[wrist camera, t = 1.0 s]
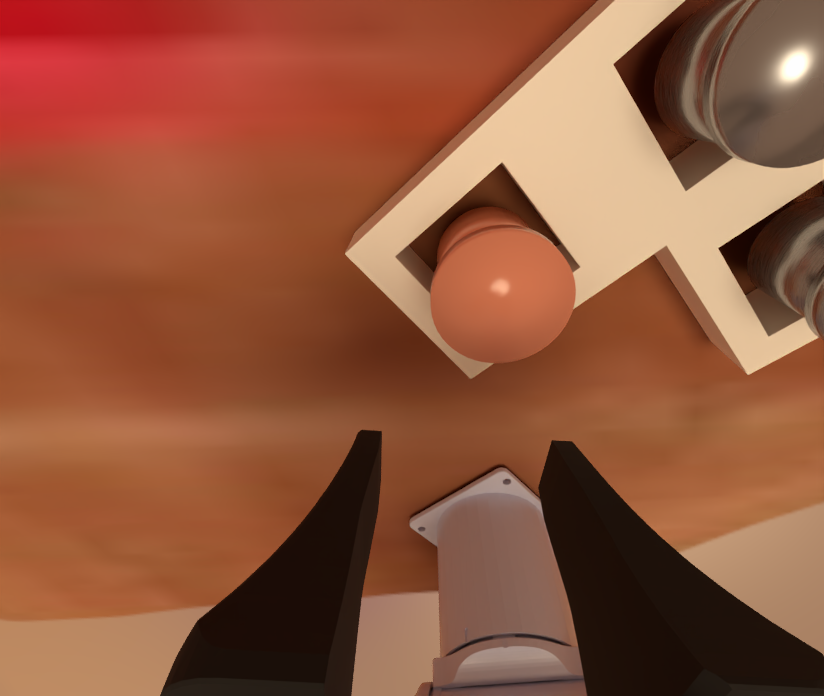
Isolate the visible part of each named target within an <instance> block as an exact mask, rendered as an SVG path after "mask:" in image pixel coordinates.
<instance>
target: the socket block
mask: <svg viewBox="0 0 824 696" xmlns="http://www.w3.org/2000/svg"><path fill="white" fill-rule="evenodd" d="M684 1H685V0H598V1H597V2H596V3H595V4H594V5H593V6H592V7H591V8H590V9H588V10H587V11H586V12H585V13H584V14H583V15H582V16H581V17H580V18H579V19H578V20H577V21H576V22H575V23H574V24H573V25H572V26H571V27H570V28H569V29H568V30H566V31H565V32H564V33H563V34H562V35H561V36H560V37H559V38H558V39H557V40H556V41H555V42H554V43H553V44H552V45H551V46H550V47H549V48H548V49H547V50H545V51H544V52H543V53H542V54H541V55H540V56H539V57H538V58H537V59H536V60H535V61H534V62H533V63H532V64H531V65H530V66H529V67H528V68H527V69H526V70H524V71H523V72H522V73H521V74H520V75H519V76H518V77H517V78H516V79H515V80H514V81H513V82H512V83H511V84H510V85H509V86H508V87H507V88H506V89H505V90H504V91H502V92H501V93H500V94H499V95H498V96H497V97H496V98H495V99H494V100H493V101H492V102H491V103H490V104H489V105H488V106H487V107H486V108H485V109H484V110H483V111H481V112H480V113H479V114H478V115H477V116H476V117H475V118H474V119H473V120H472V121H471V122H470V123H469V124H468V125H467V126H466V127H465V128H464V129H463V130H462V131H460V132H459V133H458V134H457V135H456V136H455V137H454V138H453V139H452V140H451V141H450V142H449V143H448V144H447V145H446V146H445V147H444V148H443V149H442V150H441V151H439V152H438V153H437V154H436V155H435V156H434V157H433V158H432V159H431V160H430V161H429V162H428V163H427V164H426V165H425V166H424V167H423V168H422V169H421V170H420V171H419V172H417V173H416V174H415V175H414V176H413V177H412V178H411V179H410V180H409V181H408V182H407V183H406V184H405V185H404V186H403V187H402V188H401V189H400V190H399V191H398V192H396V193H395V194H394V195H393V196H392V197H391V198H390V199H389V200H388V201H387V202H386V203H385V204H384V205H383V206H382V207H381V208H380V209H379V210H378V211H377V212H375V213H374V214H373V215H372V216H371V217H370V218H369V219H368V220H367V221H366V222H365V223H364V224H363V225H362V226H361V227H360V228H359V229H358V230H357V231H356V232H355V233H354V235H353V237H352V240H351V242H350V244H349V246H348V248H347V250H346V252H345V255H346V256H347V257H348V258H349V259H350V260H351V261H352V262H353V263H354V264H355V265H356V266H357V267H358V268H359V269H360V270H361V271H362V272H363V273H364V274H365V275H366V276H367V277H368V278H369V279H370V280H371V281H372V282H373V283H374V284H375V285H376V286H377V287H378V288H379V289H381V290H382V291H383V292H384V293H385V294H386V295H387V296H388V297H389V298H390V299H391V300H392V301H393V302H394V303H395V304H396V305H397V306H398V307H399V308H400V309H401V310H402V311H403V312H404V313H405V314H406V315H407V316H408V317H409V318H410V319H411V320H412V321H413V322H414V323H415V324H416V325H417V326H418V327H419V328H420V329H421V330H422V331H423V332H424V333H425V334H426V335H427V336H428V337H429V338H430V339H431V340H432V341H433V342H434V343H435V344H436V345H437V346H438V347H439V348H440V349H441V350H442V351H443V352H444V353H445V354H446V355H447V356H448V357H449V358H450V359H451V360H452V361H453V362H454V363H455V364H456V365H457V366H458V367H459V368H460V369H461V370H462V371H463V372H464V373H465V374H466V375H467V376H468V377H469V378H470V379H472V378H473V377H475V376H476V375H478V374H479V373H481V372H482V371H484V370H485V369H486V368H488V367H489V366H491V365H492V364H494V363H486V362H480V361H476V360H473V359H470V358H467V357H465V356H463V355H461V354H459V353H458V352H457V351H455V350H454V349H452V348H451V347H450V346H449V345H448V344H447V343H446V342H445V341H444V340H443V339H442V337H441V336H440V334H439V333H438V331H437V329H436V327H435V325H434V322H433V318H432V314H431V301H430V289H431V282H432V278H433V275H434V272H433V271H432V270H431V269H430V268H429V267H428V266H427V265H426V263H425V262H424V261H423V260H422V259H421V258H420V257H419V256H418V255H417V254H416V253H415V252H414V250H413V249H412V248H411V247H410V246H409V244H410V243H411V242H412V241H413V240H414V239H415V238H417V237H418V236H419V235H420V234H421V233H422V232H423V231H425V230H426V229H427V228H428V227H429V226H430V225H431V224H433V223H434V222H435V221H436V220H437V219H438V218H439V217H440V216H442V215H443V214H444V213H445V212H446V211H447V210H448V209H450V208H451V207H452V206H453V205H454V204H455V203H456V202H457V201H459V200H460V199H461V198H462V197H463V196H464V195H465V194H467V193H468V192H469V191H470V190H471V189H472V188H473V187H474V186H476V185H477V184H478V183H479V182H480V181H481V180H482V179H484V178H485V177H486V176H487V175H488V174H489V173H490V172H491V171H493V170H494V169H495V168H496V167H497V166H498V165H499V164H501V165H502V166H503V167H504V169H505V170H506V171H507V173H508V174H509V175H510V177H511V178H512V179H513V181H514V182H515V183H516V185H517V186H518V187H519V189H520V190H521V191H522V193H523V194H524V195H525V197H526V198H527V199H528V201H529V202H530V203H531V205H532V206H533V207H534V209H535V210H536V211H537V213H538V214H539V215H540V217H541V218H542V219H543V221H544V222H545V223H546V225H547V226H548V227H549V229H550V230H551V231H552V233H553V234H554V235H555V237H556V238H557V240H558V241H559V242H560V244H559V245H558V246H557V249H558V250H559V251H560V252H561V254H562V255H563V256H564V257H565V259H566V260H567V262H568V264H569V265H570V268H571V270H572V272H573V276H574V280H575V287H576V297H575V303H574V308H576V307H577V306H579V305H580V304H581V303H583V302H584V301H586V300H587V299H589V298H590V297H592V296H593V295H595V294H596V293H598V292H599V291H601V290H602V289H603V288H605V287H606V286H608V285H609V284H611V283H612V282H614V281H615V280H617V279H618V278H620V277H621V276H622V275H624V274H625V273H627V272H628V271H630V270H631V269H633V268H634V267H636V266H637V265H639V264H640V263H641V262H643V261H644V260H646V259H647V258H649V257H650V256H652V255H653V254H654V255H655V256H656V258H657V259H658V261H659V262H660V264H661V265H662V267H663V269H664V270H665V272H666V273H667V275H668V276H669V278H670V279H671V281H672V282H673V284H674V286H675V287H676V289H677V290H678V292H679V293H680V295H681V296H682V298H683V299H684V301H685V302H686V304H687V306H688V307H689V309H690V310H691V312H692V313H693V315H694V316H695V318H696V319H697V321H698V323H699V324H700V326H701V327H702V329H703V330H704V332H705V333H706V335H707V336H708V338H709V340H710V341H711V342H712V343H713V344H714V345H715V346H716V347H717V348H719V349H720V350H721V351H722V352H723V353H724V354H725V355H726V356H727V357H729V358H730V359H731V360H732V361H733V362H734V363H735V364H736V365H737V366H739V367H740V368H741V369H742V370H743V371H744V372H745V373H746V374H747V375H749V374H751V373H753V372H755V371H757V370H758V369H760V368H762V367H764V366H766V365H768V364H770V363H772V362H773V361H775V360H777V359H779V358H781V357H783V356H785V355H787V354H788V353H790V352H792V351H794V350H796V349H798V348H800V347H801V346H803V345H805V344H807V343H809V342H811V341H813V340H815V339H816V338H818V336H816V335H815V334H814V333H813V332H812V331H811V329H810V328H809V326H808V324H807V322H806V319H805V317H803V316H802V315H800V314H798V313H797V312H795V311H794V310H792V309H790V308H789V307H787V306H785V305H784V304H782V303H781V302H779V301H777V300H776V299H774V298H772V297H771V296H769V295H768V294H766V293H764V292H763V291H761V290H760V289H758V288H757V289H755V290H754V291H752V292H750V293H749V294H747V295H744V293H743V291H742V289H741V288H740V286H739V284H738V282H737V281H736V279H735V277H734V275H733V274H732V272H731V270H730V268H729V267H728V265H727V263H726V261H725V260H724V258H723V256H722V254H721V253H720V251H719V249H718V248H719V247H721V246H722V245H724V244H725V243H727V242H728V241H730V240H731V239H733V238H734V237H736V236H738V235H739V234H741V233H742V232H744V231H745V230H747V229H748V228H750V227H751V226H753V225H754V224H756V223H757V222H759V221H761V220H762V219H764V218H765V217H767V216H768V215H770V214H771V213H773V212H774V211H776V210H777V209H779V208H780V207H782V206H784V205H785V204H787V203H788V202H790V201H791V200H793V199H794V198H796V197H797V196H799V195H800V194H802V193H803V192H805V191H807V190H808V189H810V188H811V187H813V186H814V185H816V184H817V183H819V182H820V181H822V183H823V185H824V159H822V160H819V161H816V162H814V163H811V164H807V165H803V166H799V167H791V168H771V167H765V166H761V165H756V164H752V163H748V162H745V161H741V160H738V159H736V158H734V157H732V156H730V155H728V154H727V153H726V152H724V151H723V150H722V149H721V148H720V147H719V146H718V145H717V144H716V143H712V142H707V141H702V140H697V141H696V142H694V143H693V144H692V145H690V146H689V147H688V148H686V149H685V150H684V151H682V152H681V153H680V154H678V155H677V156H676V157H674V158H673V159H672V160H671V161H668V160H667V158H666V156H665V154H664V153H663V151H662V149H661V147H660V146H659V144H658V142H657V140H656V139H655V137H654V135H653V133H652V132H651V130H650V128H649V126H648V125H647V123H646V121H645V119H644V118H643V116H642V114H641V112H640V111H639V109H638V107H637V105H636V104H635V102H634V100H633V98H632V97H631V95H630V93H629V91H628V90H627V88H626V86H625V84H624V83H623V81H622V79H621V77H620V75H619V74H618V72H617V70H616V68H615V67H614V65H613V64H614V63H615V62H616V61H617V60H618V59H620V58H621V57H622V56H623V55H624V54H625V53H626V52H628V51H629V50H630V49H631V48H632V47H633V46H634V45H635V44H637V43H638V42H639V41H640V40H641V39H642V38H643V37H645V36H646V35H647V34H648V33H649V32H650V31H651V30H652V29H654V28H655V27H656V26H657V25H658V24H659V23H660V22H662V21H663V20H664V19H665V18H666V17H667V16H668V15H669V14H671V13H672V12H673V11H674V10H675V9H676V8H677V7H679V6H680V5H681V4H682V3H683V2H684ZM574 308H573V309H574Z"/></svg>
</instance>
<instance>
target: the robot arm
mask: <svg viewBox="0 0 824 696" xmlns="http://www.w3.org/2000/svg"><path fill="white" fill-rule="evenodd" d="M381 445H382V431H370V430H361V431H360V432H358V434H357V437H356V439H355V441H354V443H353V446H352V448H351V450H350V451H349V453H348V455H347V457H346V459H345V461H344V462H343V464H342V466H341V467H340V469H339V471H338V472H337V474H336V475H335V477H334V479H333V480H332V482H331V483H330V485H329V486H328V488H327V489H326V491H325V492H324V493H323V495H322V496H321V498H320V499H319V500H318V502H317V503H316V505H315V506H314V507H313V509H312V510H311V511H310V512H309V514H308V515H307V516H306V517H305V519H304V520H303V521H302V522H301V524H300V525H299V526H298V527H297V528H296V530H295V531H294V532H293V533H292V534H291V535H290V536H289V537H288V538H287V540H286V541H285V542H284V543H283V544H282V545H281V546H280V547H279V548H278V549H277V550H276V551H275V552H274V554H273V555H272V556H271V557H270V558H269V559H268V560H267V561H266V562H265V563H263V564H262V565H261V566H260V567H259V568H258V569H257V570H256V571H255V572H254V573H253V574H252V575H251V576H250V577H249V578H247V579H246V580H245V581H244V582H243V583H242V584H241V585H240V586H239V587H238V588H237V589H235V590H234V591H233V592H232V593H231V594H229V595H228V596H227V597H226V598H225V599H223V600H222V601H221V602H220V603H218V604H217V605H216V606H215V607H214V608H212V609H211V610H210V611H209V612H208V613H206V614H205V615H204V616H203V617H201V618H200V619H199V620H198V621H197V622H196V624H195V625H194V627H193V629H192V630H191V632H190V634H189V636H188V637H187V639H186V640H185V643H184V644H183V646H182V648H181V649H180V651H179V653H178V655H177V657H176V659H175V661H174V663H173V666H172V668H171V671H170V673H169V675H168V678H167V680H166V682H165V685H164V687H163V690H162V692H161V695H160V696H351V692H352V682H353V672H354V662H355V653H356V644H357V633H358V625H359V615H360V606H361V598H362V591H363V585H364V579H365V574H366V569H367V564H368V559H369V554H370V549H371V544H372V539H373V534H374V529H375V523H376V518H377V513H378V505H379V494H380V483H381ZM505 479H508V480H505ZM538 488H539V494H540V499H539V498H538V497H537V496H536V495H535V494H534V493H533V492H532V491H531V490H530V489H529V488H527V487H526V486H525V485H524V484H523V483H522V482H521V481H520V480H519V479H518V478H517V477H515V476H514V475H513V474H512V473H511V472H510V471H509V470H508V469H506V468H497V469H495V470H494V471H492V472H490V473H488V474H487V475H485V476H483V477H481V478H480V479H478V480H476V481H474V482H473V483H471V484H469V485H467V486H466V487H464V488H462V489H461V490H459V491H457V492H455V493H454V494H452V495H450V496H448V497H447V498H445V499H443V500H441V501H440V502H438V503H436V504H434V505H433V506H431V507H429V508H427V509H426V510H424V511H422V512H421V513H419V514H417V515H415V516H414V517H412V518H411V519H410V524H409V525H410V527H411V528H412V529H413V530H415V531H416V532H418V533H419V534H420V535H422V536H423V537H424V538H426V539H427V540H428V541H430V542H431V543H433V544H434V545H435V546H437V547H438V583H439V620H440V657H441V658H434V659H433V682H426V683H422V684H421V685H420V687H419V688H418V691H417V693H416V695H415V696H824V656H823V654H822V653H820V652H819V651H817V650H816V649H814V648H812V647H811V646H809V645H807V644H806V643H805V642H803V641H801V640H800V639H798V638H797V637H795V636H793V635H791V634H790V633H788V632H787V631H785V630H784V629H782V628H780V627H779V626H777V625H776V624H774V623H772V622H771V621H769V620H768V619H766V618H765V617H763V616H762V615H760V614H759V613H758V612H756V611H754V610H753V609H752V608H750V607H749V606H747V605H746V604H745V603H743V602H741V601H740V600H739V599H737V598H736V597H734V596H733V595H732V594H730V593H729V592H728V591H726V590H725V589H723V588H722V587H721V586H720V585H718V584H717V583H716V582H714V581H713V580H712V579H710V578H709V577H708V576H707V575H705V574H704V573H703V572H701V571H700V570H699V569H698V568H696V567H695V566H694V565H693V564H691V563H690V562H689V561H688V560H687V559H685V558H684V557H683V556H682V555H681V554H679V553H678V552H677V551H676V550H675V549H674V548H673V547H671V546H670V545H669V544H668V543H667V542H666V541H665V540H663V539H662V538H661V537H660V536H659V535H658V534H657V533H656V532H655V531H654V530H653V529H652V528H650V527H649V526H648V525H647V524H646V523H645V522H644V521H643V520H642V519H641V518H640V517H639V516H638V515H637V514H636V513H635V512H634V511H633V510H632V509H631V508H630V507H629V506H628V504H627V503H626V502H625V501H624V500H623V499H622V498H621V497H620V496H619V495H618V494H617V493H616V492H615V490H614V489H613V488H612V487H611V486H610V485H609V484H608V483H607V482H606V480H605V479H604V478H603V477H602V476H601V475H600V474H599V472H598V471H597V470H596V469H595V468H594V467H593V465H592V464H591V463H590V462H589V461H588V460H587V458H586V457H585V456H584V455H583V454H582V453H581V451H580V450H579V449H578V448H577V447H576V446H575V444H574V443H573V442H571V441H553V440H552V442H551V445H550V449H549V452H548V456H547V459H546V463H545V466H544V470H543V473H542V477H541V480H540V484H539V487H538Z"/></svg>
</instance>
